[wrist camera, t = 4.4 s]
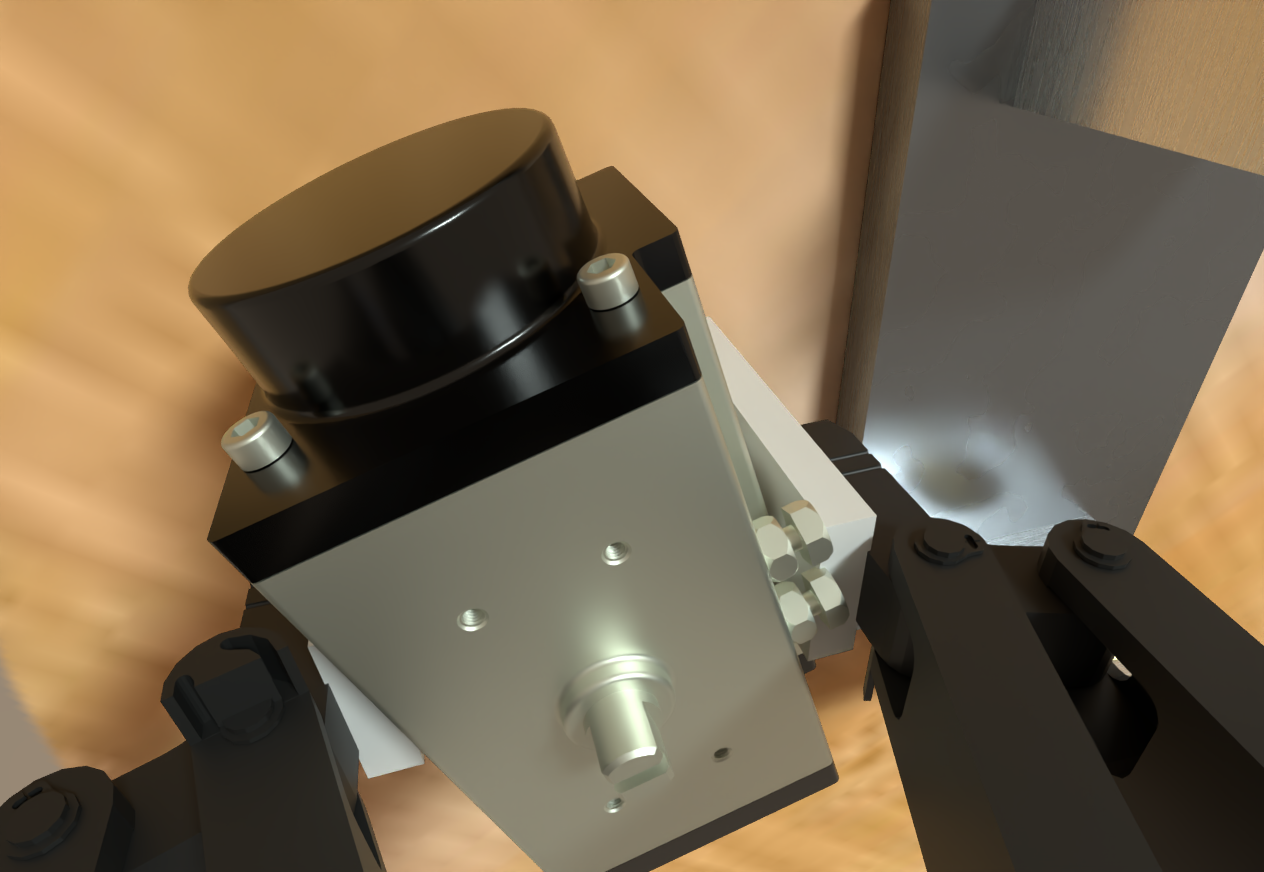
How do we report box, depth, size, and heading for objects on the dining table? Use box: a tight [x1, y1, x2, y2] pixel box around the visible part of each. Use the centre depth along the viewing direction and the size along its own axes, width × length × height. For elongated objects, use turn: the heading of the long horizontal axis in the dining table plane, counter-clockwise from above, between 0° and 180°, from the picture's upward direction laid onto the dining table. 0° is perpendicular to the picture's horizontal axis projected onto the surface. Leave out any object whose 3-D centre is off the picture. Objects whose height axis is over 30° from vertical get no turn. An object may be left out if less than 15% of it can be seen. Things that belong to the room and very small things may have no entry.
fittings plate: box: [836, 0, 1264, 676], centre depth 19 cm, size 20×12×8 cm, turn 3°
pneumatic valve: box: [188, 108, 850, 872], centre depth 13 cm, size 6×12×12 cm, turn 19°
